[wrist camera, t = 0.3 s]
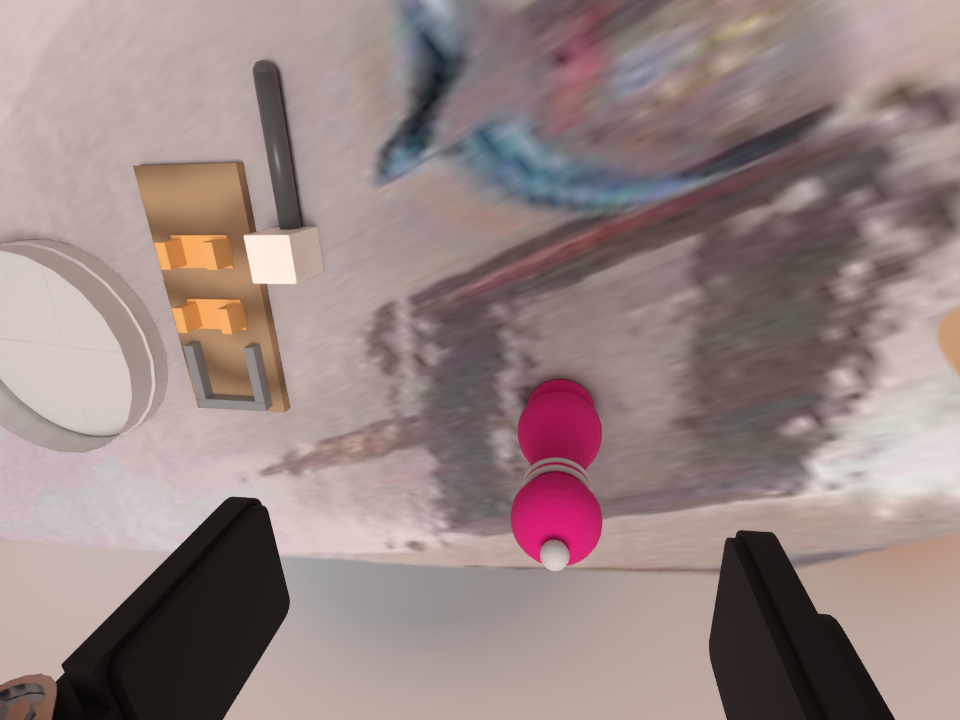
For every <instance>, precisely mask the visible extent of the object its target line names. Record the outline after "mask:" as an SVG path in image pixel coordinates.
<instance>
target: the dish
mask: <svg viewBox="0 0 960 720" xmlns="http://www.w3.org/2000/svg"><path fill="white" fill-rule="evenodd" d="M167 381H168V371H167V357H166V352H165V349H164V346H163V343H162V340H161V337H160V334H159V331H158V328H157V326H156V324H155V323H154V321H153V319H152V317H151V316H150V314H149V312H148V310H147V309H146V307H145V305H144V303H143V302H142V301H141V299H140V298H139V297H138V296H137V295H136V294H135V292H134V291H133V290H132V289H131V288H130V287H129V286H128V284H127V283H126V282H125V281H124V280H123V279H122V278H121V277H120V276H119V275H118V274H116V273H115V272H114V271H113V270H111V269H110V268H109V267H107V266H106V265H105V264H104V263H102V262H101V261H100V260H99V259H97V258H95V257H93V256H91V255H89V254H87V253H85V252H83V251H81V250H79V249H77V248H75V247H73V246H71V245H68V244H63V243H59V242H55V241H51V240H47V239H38V240H23V241H16V242H10V243H4V244H0V425H2V426H3V427H5V428H6V429H7V430H9V431H10V432H12V433H13V434H15V435H17V436H19V437H21V438H23V439H25V440H27V441H29V442H31V443H33V444H35V445H38V446H41V447H45V448H49V449H52V450H56V451H60V452H87V451H90V450H94V449H97V448H101V447H103V446H105V445H106V444H108V443H109V442H111V441H112V440H114V439H115V438H117V437H119V436H123V435H126V434H127V433H129V432H130V431H132V430H133V429H135V428H136V427H138V426H139V425H141V424H142V423H143V422H145V421H146V420H148V419H149V418H150V417H152V416H153V415H154V414H155V412H156V410H157V409H158V407H159V405H160V404H161V402H162V401H163V399H164V395H165V390H166V385H167Z"/></svg>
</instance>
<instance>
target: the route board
mask: <svg viewBox="0 0 960 720" xmlns="http://www.w3.org/2000/svg"><path fill="white" fill-rule="evenodd" d="M133 167H134V171H135V175H136V179H137V182H138V186H139V190H140V193H141V197H142V201H143V205H144V208H145V212H146V216H147V219H148V223H149V227H150V231H151V234H152V238H153V242H159V241H163V240H168V239H171V236H170V235H228V238H229V243H230V247H231V252H232V257H233V261H234V266H235V268H222V269H219V270H207V268H175V269H172V270H161V272H162V275H163V279H164V283H165V286H166V290H167V294H168V298H169V301H170V305H171V309H172V308H174V307H176V306H179V305H181V304H184V303H186V302H187V299H188V298H209V299H242V304H243V308H244V313H245V318H246V322H247V327H248V329H247V330H239V331H237V332H236V333H234V334H222V330H221V329H195V330H193V331H191V332H189V333H178V335H179V338H180V342H181V346H182V350H183V353H184V357H185V361H186V364H187V368H188V372H189V376H190V379H191V383H192V387H193V390H194V394H195V398H196V402H197V405H198V407H199V404H198V400H197V396H196V392H195V389H194V385H193V381H192V377H191V374H190V370H189V366H188V363H187V359H186V355H185V351H184V348H183V346H184V345H186V344H188V343H189V342H200V343H201V347H202V351H203V355H204V358H205V362H206V366H207V370H208V374H209V378H210V382H211V386H212V390H213V394H223V395H243V396H254V394H253V389H252V385H251V380H250V376H249V371H248V367H247V362H246V358H245V353H244V349H243V348H244V347H246V346H247V345H249V344H260V347H261V352H262V357H263V361H264V366H265V371H266V376H267V381H268V386H269V391H270V395H271V400H272V405H273V406H272V407H270V408H269V409H268V410H267V411H271V412H286V411H287V410H288V409H289V408H290V406H289V401H288V395H287V390H286V385H285V380H284V375H283V369H282V364H281V359H280V354H279V349H278V343H277V338H276V333H275V328H274V322H273V317H272V312H271V307H270V302H269V296H268V291H267V286H266V284H253V281H252V276H251V271H250V266H249V261H248V256H247V251H246V246H245V241H244V236H243V235H247V234H251V233H254V232H256V229H255V224H254V218H253V213H252V208H251V203H250V197H249V192H248V187H247V182H246V177H245V171H244V166H243V163H212V164H179V165H146V166H133ZM154 246H155V244H154ZM155 249H156V248H155ZM156 253H157V251H156ZM157 257H158V255H157ZM158 260H159V259H158ZM159 264H160V262H159ZM160 268H161V266H160ZM172 312H173V311H172ZM173 316H174V315H173ZM174 320H175V318H174ZM175 324H176V322H175ZM176 327H177V326H176ZM177 331H178V329H177ZM199 408H201V407H199ZM217 409H219V408H217ZM235 410H237V409H235ZM253 411H255V410H253Z"/></svg>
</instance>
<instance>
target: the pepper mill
mask: <svg viewBox="0 0 960 720" xmlns="http://www.w3.org/2000/svg"><path fill="white" fill-rule="evenodd" d="M601 439H602V426H601V422H600V419H599V417H598V415H597V413H596V411H595V410H594V405H593V401H592V398H591V397H590V395H589V393H588V392H587V391H586V390H585V389H584V388H583V387H582V386H580V385H579V384H577V383H575V382H572V381H569V380H563V379H556V380H551V381H547V382H545V383H543V384H541V385H540V386H538V387H537V388H536V389H535V390H534V391H533V392H532V394H531V395H530V397H529V400H528V404H527V406H526V408H525V409H524V410H523V412H522V414H521V417H520V419H519V424H518V440H519V444H520V447H521V450H522V452H523V454H524V456H525V457H526V459H527V460H528V462H529V463H530V464H531V467H530V468H529V469H528V471H527V472H526V474H525V476H524V479H523V486H522V489H521V490H520V491H519V492H518V494H517V496H516V497H515V499H514V502H513V506H512V510H511V525H512V530H513V534H514V537H515V539H516V541H517V543H518V544H519V545H520V547H521V548H522V549H523V550H524V552H525V553H526V554H528V555H529V556H530V557H532V558H533V559H535V560H536V561H538V562H540V563H543V565H544V566H545V567H546V568H547V569H549V570H552V571H558V570H561V569H563V568H565V566H568V565H571V564H574V563H577V562H579V561H581V560H583V559H584V558H585V557H587V556H588V555H589V554H590V553H591V552H592V550H593V549H594V548H595V547H596V545H597V543H598V540H599V538H600V536H601V530H602V514H601V509H600V505H599V503H598V501H597V500H596V498H595V496H594V495H593V492H592V482H591V479H590V477H589V475H588V473H587V472H586V468H587V467H588V466H589V465H590V464H591V463H592V461H593V460H594V459H595V457H596V455H597V453H598V451H599V448H600V444H601Z"/></svg>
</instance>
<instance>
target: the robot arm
mask: <svg viewBox="0 0 960 720" xmlns="http://www.w3.org/2000/svg"><path fill="white" fill-rule="evenodd" d="M289 604H290V599H289V594H288V590H287V586H286V582H285V578H284V574H283V570H282V566H281V562H280V557H279V553H278V549H277V545H276V541H275V537H274V533H273V529H272V525H271V521H270V517H269V513H268V510H267V508H266V507H265V506H262V504H261V502H260V501H259V500H258V499H256V498H245V497H230V498H228V499H226V500H225V501H224V502H223V503H222V504H221V505H220V506H219V507H218V508H217V509H216V510H215V511H214V512H213V513H212V514H211V515H210V516H209V517H208V518H207V519H206V520H205V521H204V522H203V523H202V524H201V525H200V526H199V527H198V528H197V529H196V530H195V531H194V532H193V533H192V534H191V535H190V536H189V537H188V538H187V539H186V540H185V541H184V542H183V543H182V544H181V545H180V546H179V547H178V548H177V549H176V550H175V551H174V552H173V553H172V554H171V555H170V556H169V557H168V558H167V559H166V560H165V561H164V562H163V563H162V564H161V565H160V566H159V567H158V568H157V569H156V570H155V571H154V572H153V573H152V574H151V575H150V576H149V577H148V578H147V579H146V580H145V581H144V582H143V583H142V584H141V585H140V586H139V587H138V588H137V589H136V590H135V591H134V592H133V593H132V594H131V595H130V596H129V597H128V598H127V599H126V600H125V601H124V602H123V603H122V604H121V605H120V606H119V607H118V608H117V609H116V610H115V612H113V613H112V614H111V615H110V616H109V617H108V618H107V619H106V620H105V621H104V622H103V623H102V625H100V626H99V627H98V628H97V629H96V630H95V631H94V632H93V633H92V634H91V635H90V637H88V639H86V640H85V641H84V642H83V643H82V644H81V646H80V647H79V648H77V649H76V650H75V651H74V652H73V653H72V654H71V655H70V656H69V657H68V659H67V660H65V661H64V663H63V664H62V668H63V670H64V672H65V673H64V674H63V675H62V676H61V677H60V678H59V679H58V680H57V681H56V682H55V681H54V680H53V679H52V678H51V677H50V676H46V675H42V674H35V675H26V676H23V677H20V678H17V679H13V680H10V681H8V682H6V683H4V684H2V685H0V720H223V718H224V717H225V715H226V713H227V712H228V710H229V709H230V707H231V705H232V704H233V702H234V700H235V699H236V697H237V695H238V694H239V692H240V690H241V689H242V687H243V686H244V684H245V682H246V681H247V679H248V677H249V676H250V674H251V673H252V671H253V669H254V668H255V666H256V664H257V663H258V661H259V660H260V658H261V656H262V655H263V653H264V651H265V650H266V648H267V647H268V645H269V643H270V642H271V640H272V638H273V637H274V635H275V634H276V632H277V630H278V629H279V627H280V625H281V624H282V622H283V621H284V619H285V617H286V615H287V613H288V609H289ZM709 653H710V660H711V664H712V668H713V671H714V675H715V678H716V682H717V686H718V689H719V693H720V697H721V700H722V704H723V707H724V711H725V714H726V717H727V720H895V719H894V717H893V715H892V713H891V712H890V710H889V709H888V707H887V705H886V703H885V701H884V700H883V698H882V696H881V695H880V693H879V691H878V689H877V687H876V686H875V684H874V682H873V681H872V679H871V677H870V675H869V673H868V672H867V670H866V668H865V667H864V665H863V663H862V662H861V660H860V658H859V656H858V654H857V653H856V651H855V649H854V647H853V646H852V644H851V642H850V640H849V639H848V637H847V635H846V634H845V632H844V630H843V628H842V627H841V626H840V624H839V623H838V621H837V620H836V619H835V618H833V617H832V616H831V615H827V614H818V613H817V611H816V609H815V607H814V605H813V603H812V601H811V600H810V598H809V596H808V594H807V592H806V590H805V588H804V587H803V585H802V583H801V581H800V579H799V577H798V576H797V574H796V572H795V570H794V568H793V566H792V564H791V563H790V561H789V559H788V557H787V555H786V553H785V552H784V550H783V548H782V546H781V544H780V542H779V540H778V539H777V537H776V536H775V534H773V533H772V532H759V531H744V530H740V531H738V532H737V534H736V537H735V538H727V539H726V542H725V546H724V553H723V559H722V565H721V571H720V577H719V584H718V590H717V596H716V602H715V609H714V615H713V621H712V628H711V634H710V639H709Z"/></svg>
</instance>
